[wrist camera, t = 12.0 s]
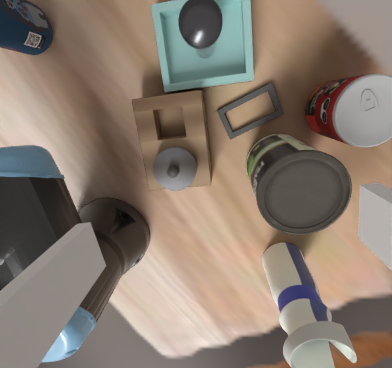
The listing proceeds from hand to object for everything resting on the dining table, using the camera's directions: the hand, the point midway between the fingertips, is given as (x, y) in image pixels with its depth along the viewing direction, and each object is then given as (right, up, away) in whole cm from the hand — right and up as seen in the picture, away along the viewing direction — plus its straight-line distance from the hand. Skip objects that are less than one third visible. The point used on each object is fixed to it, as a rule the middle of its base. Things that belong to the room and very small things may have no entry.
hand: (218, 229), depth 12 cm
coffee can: (+13, +6, +29) cm, 32 cm away
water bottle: (+16, -12, +34) cm, 40 cm away
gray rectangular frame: (+7, +14, +26) cm, 30 cm away
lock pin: (0, +22, +23) cm, 32 cm away
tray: (0, +23, +24) cm, 33 cm away
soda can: (-26, +26, +26) cm, 45 cm away
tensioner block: (-4, +10, +29) cm, 31 cm away
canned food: (+19, +14, +25) cm, 35 cm away
